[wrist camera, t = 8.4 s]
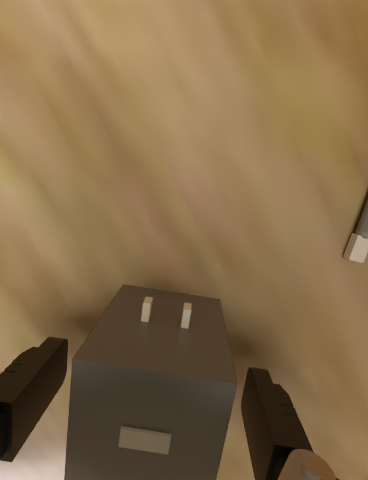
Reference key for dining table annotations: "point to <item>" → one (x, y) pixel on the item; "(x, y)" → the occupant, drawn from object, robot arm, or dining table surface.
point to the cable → (359, 240)
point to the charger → (151, 390)
